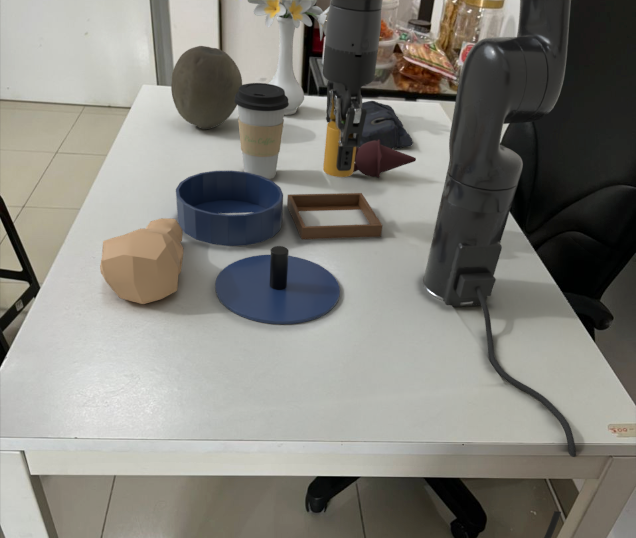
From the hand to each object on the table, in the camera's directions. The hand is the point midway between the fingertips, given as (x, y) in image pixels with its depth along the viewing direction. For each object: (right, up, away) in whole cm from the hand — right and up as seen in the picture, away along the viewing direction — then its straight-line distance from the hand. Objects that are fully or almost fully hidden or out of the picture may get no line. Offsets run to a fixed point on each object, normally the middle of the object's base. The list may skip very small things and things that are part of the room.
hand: (339, 162), depth 101 cm
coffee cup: (-14, +4, +19) cm, 24 cm away
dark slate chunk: (+9, +22, +42) cm, 48 cm away
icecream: (+7, +6, +23) cm, 25 cm away
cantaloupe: (-27, +21, +36) cm, 50 cm away
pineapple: (0, -1, +1) cm, 1 cm away
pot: (-18, -9, +4) cm, 20 cm away
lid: (-9, -22, -11) cm, 26 cm away
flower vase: (-11, +29, +48) cm, 57 cm away
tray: (-1, -8, +7) cm, 10 cm away
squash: (-27, -20, -10) cm, 35 cm away
